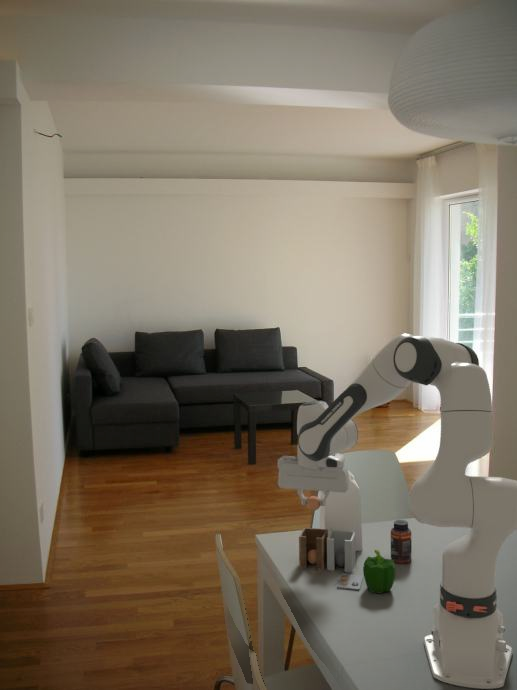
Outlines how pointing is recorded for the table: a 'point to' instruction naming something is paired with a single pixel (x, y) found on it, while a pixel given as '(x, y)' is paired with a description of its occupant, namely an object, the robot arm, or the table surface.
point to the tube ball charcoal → (340, 559)
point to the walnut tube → (313, 546)
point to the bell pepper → (379, 573)
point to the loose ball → (313, 503)
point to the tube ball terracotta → (312, 556)
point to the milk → (343, 511)
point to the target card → (350, 582)
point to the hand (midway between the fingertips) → (313, 504)
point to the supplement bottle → (401, 542)
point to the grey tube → (341, 548)
